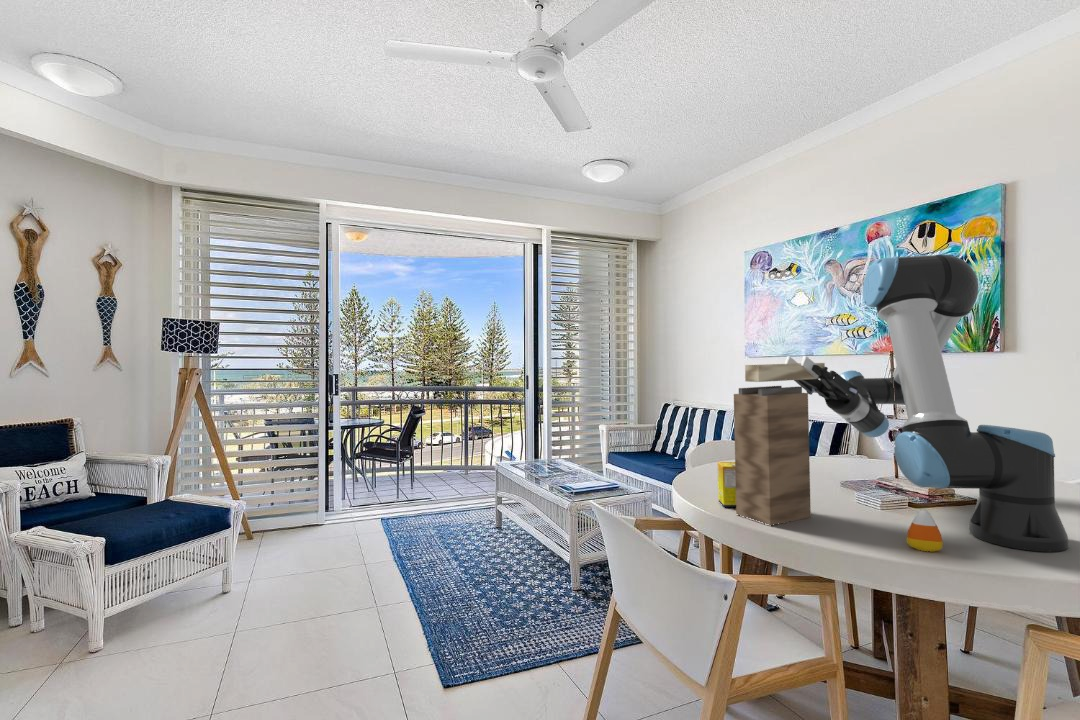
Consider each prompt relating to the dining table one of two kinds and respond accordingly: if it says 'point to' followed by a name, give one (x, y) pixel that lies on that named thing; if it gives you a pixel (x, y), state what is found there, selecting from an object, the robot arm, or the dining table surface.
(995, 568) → the dining table surface
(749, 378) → the maple bar
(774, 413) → the walnut stand
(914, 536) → the candy corn
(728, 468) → the supplement box
